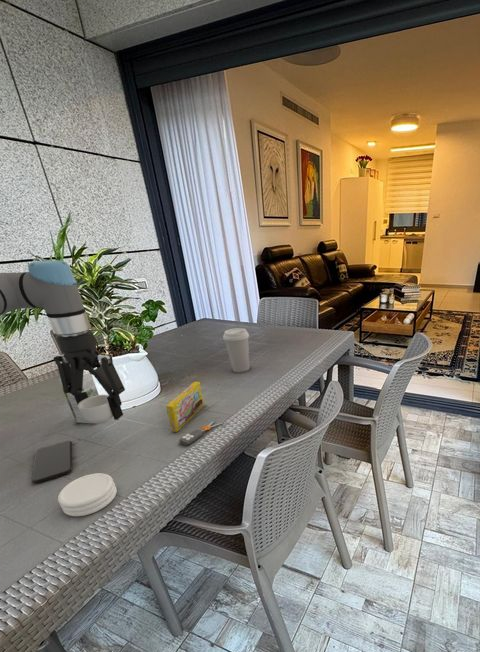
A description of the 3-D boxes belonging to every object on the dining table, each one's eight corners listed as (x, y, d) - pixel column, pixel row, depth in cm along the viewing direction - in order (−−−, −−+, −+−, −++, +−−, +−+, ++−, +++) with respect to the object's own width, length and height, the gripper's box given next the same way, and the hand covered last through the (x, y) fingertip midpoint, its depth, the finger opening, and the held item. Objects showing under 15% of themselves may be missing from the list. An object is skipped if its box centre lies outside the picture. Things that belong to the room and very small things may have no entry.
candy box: (178, 432, 97) (171, 406, 93) (171, 432, 97) (164, 406, 93) (205, 405, 111) (200, 381, 107) (198, 404, 111) (193, 381, 107)
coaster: (54, 521, 70) (46, 507, 68) (76, 487, 78) (70, 475, 76) (107, 513, 71) (101, 500, 69) (123, 481, 79) (119, 469, 78)
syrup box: (90, 413, 109) (73, 369, 102) (107, 414, 108) (90, 370, 101) (75, 422, 104) (56, 377, 97) (92, 424, 103) (74, 378, 96)
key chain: (188, 446, 91) (187, 441, 90) (178, 443, 93) (177, 438, 92) (224, 423, 101) (223, 419, 100) (214, 420, 102) (213, 416, 102)
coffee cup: (231, 375, 131) (224, 336, 124) (226, 367, 139) (219, 329, 132) (256, 370, 134) (251, 332, 127) (250, 362, 142) (245, 326, 135)
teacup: (106, 427, 89) (99, 409, 86) (77, 426, 90) (70, 408, 87) (128, 408, 97) (123, 391, 95) (102, 408, 98) (96, 390, 96)
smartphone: (37, 451, 91) (32, 485, 79) (35, 449, 91) (30, 482, 79) (72, 441, 95) (73, 472, 83) (71, 439, 94) (71, 469, 82)
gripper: (124, 328, 85) (148, 411, 96) (46, 327, 87) (78, 408, 98) (104, 337, 78) (132, 425, 89) (20, 336, 80) (58, 422, 91)
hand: (104, 416), depth 93 cm, fingers closed on teacup, 8 cm apart
